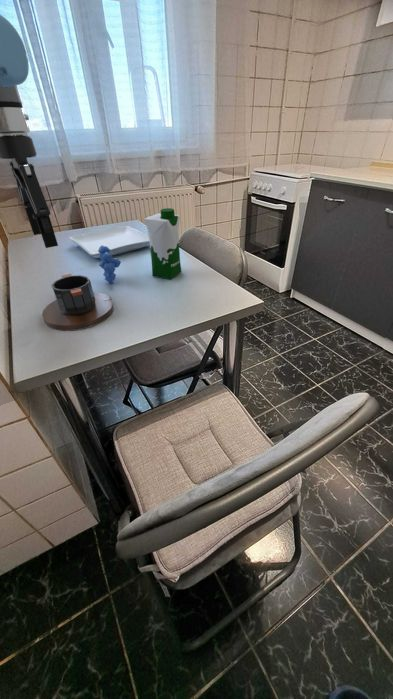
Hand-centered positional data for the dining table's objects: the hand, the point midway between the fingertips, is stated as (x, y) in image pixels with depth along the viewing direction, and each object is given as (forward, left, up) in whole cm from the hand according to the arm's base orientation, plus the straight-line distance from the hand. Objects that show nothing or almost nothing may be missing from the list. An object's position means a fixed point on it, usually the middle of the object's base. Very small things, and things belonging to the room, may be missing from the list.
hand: (45, 239), depth 74 cm
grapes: (+16, +6, -18) cm, 24 cm away
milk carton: (+33, +2, -18) cm, 37 cm away
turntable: (+2, -8, -17) cm, 19 cm away
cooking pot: (+2, -8, -16) cm, 18 cm away
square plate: (+27, +41, -18) cm, 52 cm away
